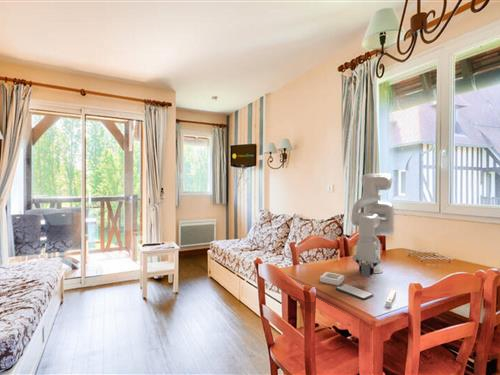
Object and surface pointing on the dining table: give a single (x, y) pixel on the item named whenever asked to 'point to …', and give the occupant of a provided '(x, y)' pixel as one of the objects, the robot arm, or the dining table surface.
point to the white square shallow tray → (332, 278)
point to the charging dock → (391, 298)
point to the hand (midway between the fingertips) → (366, 273)
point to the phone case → (354, 292)
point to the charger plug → (365, 269)
